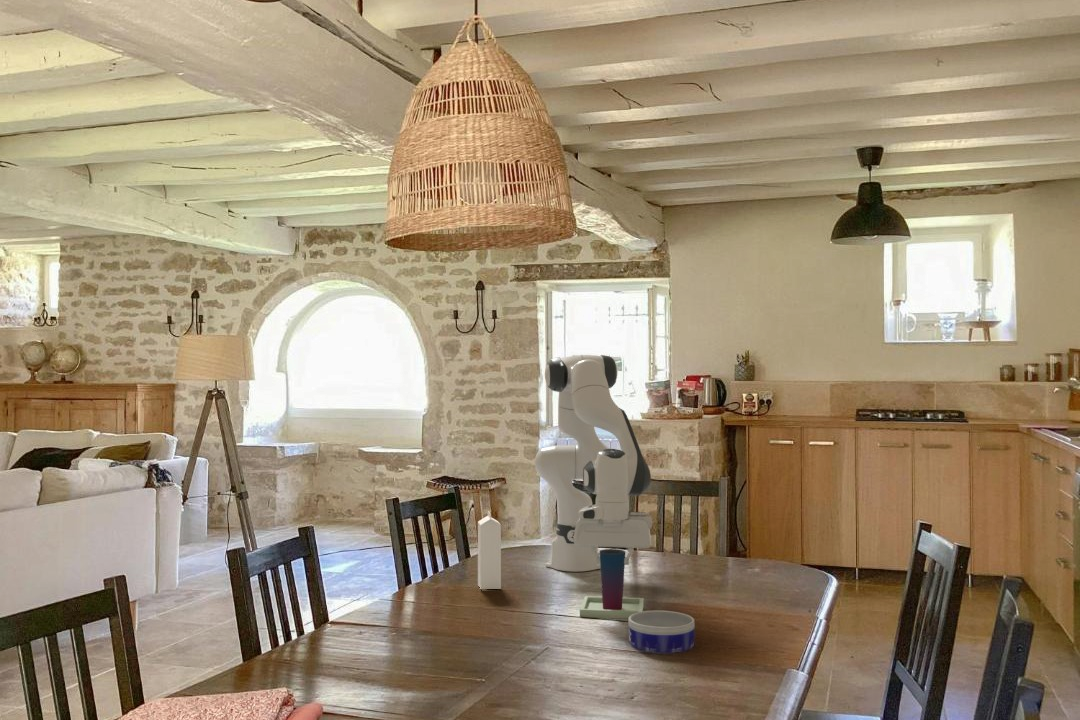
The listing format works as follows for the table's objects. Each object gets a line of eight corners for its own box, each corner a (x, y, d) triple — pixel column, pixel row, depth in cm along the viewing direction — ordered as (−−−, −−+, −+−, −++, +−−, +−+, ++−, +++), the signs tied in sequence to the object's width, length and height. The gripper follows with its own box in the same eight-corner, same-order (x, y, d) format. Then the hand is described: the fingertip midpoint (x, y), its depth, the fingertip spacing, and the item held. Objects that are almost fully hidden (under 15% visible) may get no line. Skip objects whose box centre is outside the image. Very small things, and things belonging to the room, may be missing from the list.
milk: (480, 590, 265) (480, 514, 265) (477, 585, 271) (477, 510, 271) (501, 589, 266) (500, 513, 266) (498, 584, 272) (497, 509, 272)
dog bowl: (617, 638, 219) (617, 613, 219) (674, 632, 225) (674, 607, 225) (646, 657, 205) (646, 630, 205) (707, 650, 210) (707, 623, 210)
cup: (623, 612, 239) (623, 554, 239) (597, 610, 241) (597, 553, 241) (627, 605, 246) (627, 549, 246) (601, 604, 247) (601, 548, 247)
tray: (584, 602, 251) (584, 596, 251) (643, 604, 249) (643, 598, 249) (579, 616, 237) (579, 609, 237) (642, 619, 235) (642, 611, 235)
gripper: (652, 510, 245) (652, 562, 245) (575, 508, 248) (575, 560, 248) (651, 514, 239) (651, 567, 239) (573, 512, 242) (573, 565, 241)
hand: (612, 563), depth 243 cm, fingers closed on cup, 6 cm apart
